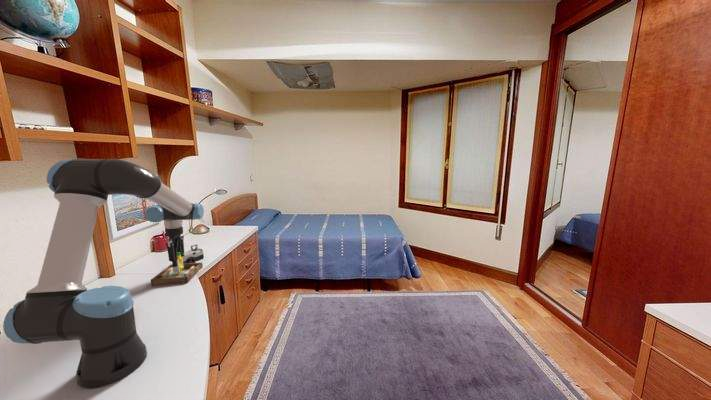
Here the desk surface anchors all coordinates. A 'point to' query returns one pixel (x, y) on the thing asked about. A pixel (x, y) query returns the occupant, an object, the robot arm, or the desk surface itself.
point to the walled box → (170, 278)
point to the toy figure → (179, 263)
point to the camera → (193, 255)
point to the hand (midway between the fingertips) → (178, 270)
